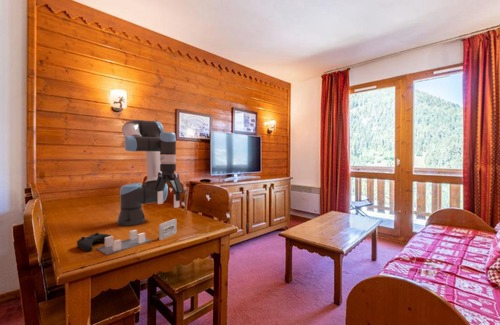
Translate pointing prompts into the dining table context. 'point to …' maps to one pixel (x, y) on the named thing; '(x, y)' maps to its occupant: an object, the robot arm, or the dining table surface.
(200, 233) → the dining table surface
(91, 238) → the gaming controller
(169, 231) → the cassette
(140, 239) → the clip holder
